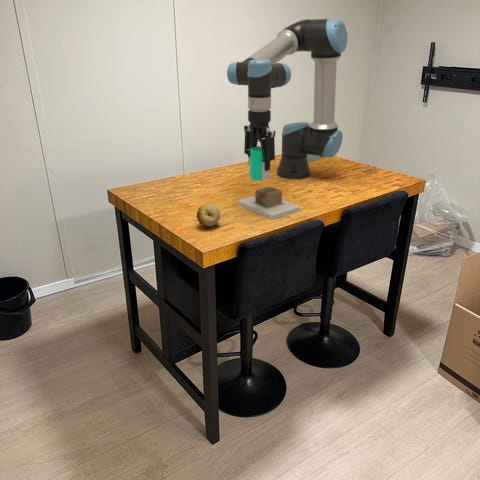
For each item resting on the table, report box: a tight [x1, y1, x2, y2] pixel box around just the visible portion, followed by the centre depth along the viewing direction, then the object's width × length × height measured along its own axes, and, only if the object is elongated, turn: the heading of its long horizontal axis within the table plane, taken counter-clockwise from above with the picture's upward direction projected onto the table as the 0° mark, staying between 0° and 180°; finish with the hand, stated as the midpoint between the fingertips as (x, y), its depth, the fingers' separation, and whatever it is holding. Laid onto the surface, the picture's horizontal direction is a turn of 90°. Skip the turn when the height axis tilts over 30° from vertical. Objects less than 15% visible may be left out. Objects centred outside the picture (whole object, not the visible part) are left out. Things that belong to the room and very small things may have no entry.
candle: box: [250, 145, 264, 182], centre depth 160 cm, size 6×6×12 cm
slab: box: [236, 195, 302, 220], centre depth 174 cm, size 20×14×2 cm
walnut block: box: [254, 185, 283, 208], centre depth 172 cm, size 7×7×5 cm
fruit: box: [196, 203, 221, 228], centre depth 156 cm, size 8×8×8 cm
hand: (259, 176), depth 163 cm, fingers closed on candle, 6 cm apart
